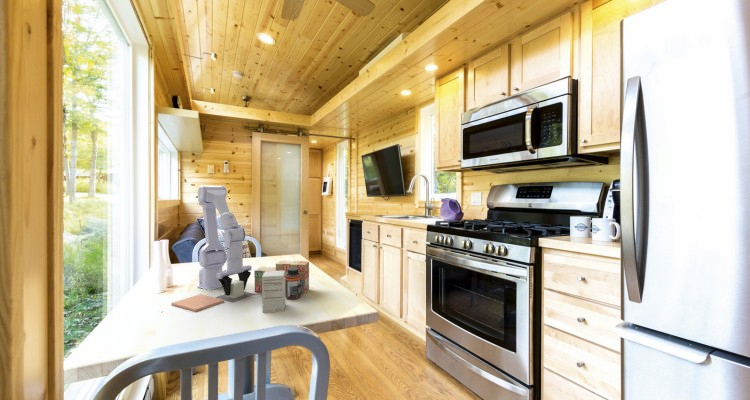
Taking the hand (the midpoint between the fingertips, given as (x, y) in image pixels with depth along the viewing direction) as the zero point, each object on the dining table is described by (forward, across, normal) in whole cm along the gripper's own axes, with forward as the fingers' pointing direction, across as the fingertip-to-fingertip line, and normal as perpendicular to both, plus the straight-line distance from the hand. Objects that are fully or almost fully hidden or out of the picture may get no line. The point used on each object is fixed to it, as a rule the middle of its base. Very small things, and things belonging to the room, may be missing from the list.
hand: (235, 292), depth 123 cm
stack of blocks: (+2, +14, -11) cm, 18 cm away
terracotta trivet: (+2, -12, +5) cm, 13 cm away
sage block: (+1, 0, 0) cm, 1 cm away
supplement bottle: (+2, +10, -21) cm, 23 cm away
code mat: (+2, 0, 0) cm, 2 cm away
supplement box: (+2, -2, -23) cm, 23 cm away
